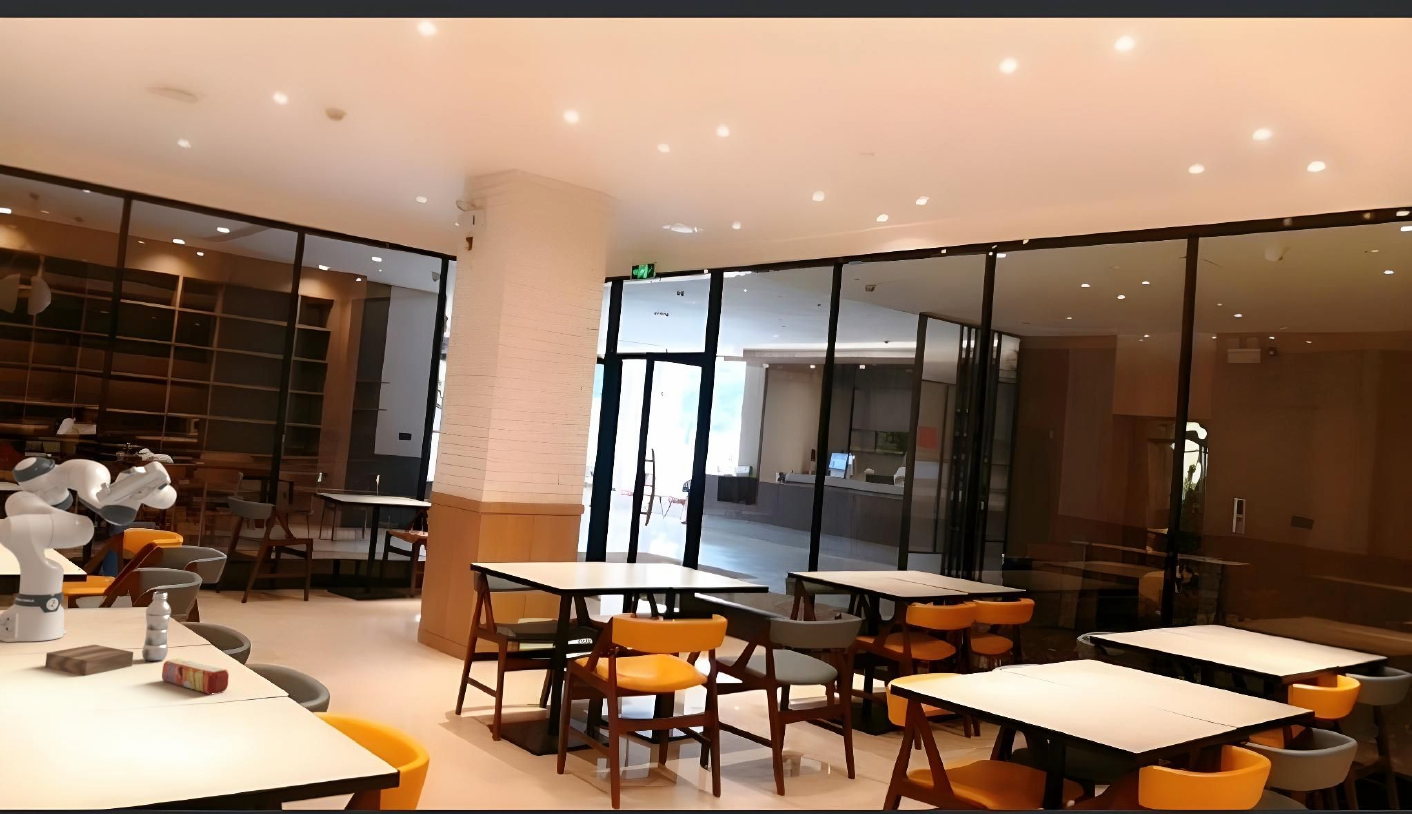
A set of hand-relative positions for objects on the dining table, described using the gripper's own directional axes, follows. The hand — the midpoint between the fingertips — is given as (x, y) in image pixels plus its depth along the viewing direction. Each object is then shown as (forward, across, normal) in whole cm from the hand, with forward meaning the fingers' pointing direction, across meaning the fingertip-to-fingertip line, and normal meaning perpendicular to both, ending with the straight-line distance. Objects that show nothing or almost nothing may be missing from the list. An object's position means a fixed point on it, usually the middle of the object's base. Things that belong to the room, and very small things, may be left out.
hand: (117, 477), depth 289 cm
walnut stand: (+4, -26, +50) cm, 57 cm away
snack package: (+17, +1, +76) cm, 77 cm away
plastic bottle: (-7, -15, +55) cm, 58 cm away
